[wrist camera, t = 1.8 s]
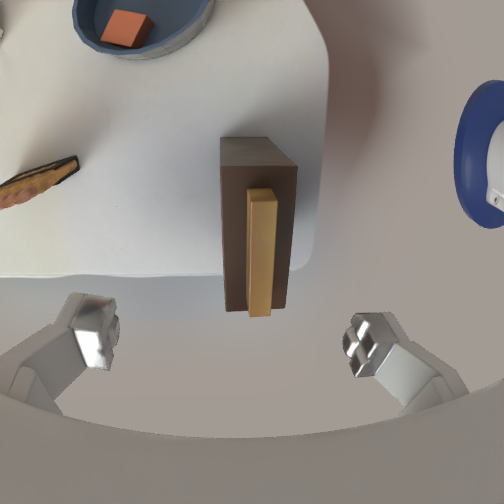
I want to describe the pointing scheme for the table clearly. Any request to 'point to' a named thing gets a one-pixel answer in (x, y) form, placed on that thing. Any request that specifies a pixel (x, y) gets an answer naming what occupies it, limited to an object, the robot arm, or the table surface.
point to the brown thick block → (235, 212)
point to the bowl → (157, 9)
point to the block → (127, 29)
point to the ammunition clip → (36, 181)
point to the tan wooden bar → (260, 250)
